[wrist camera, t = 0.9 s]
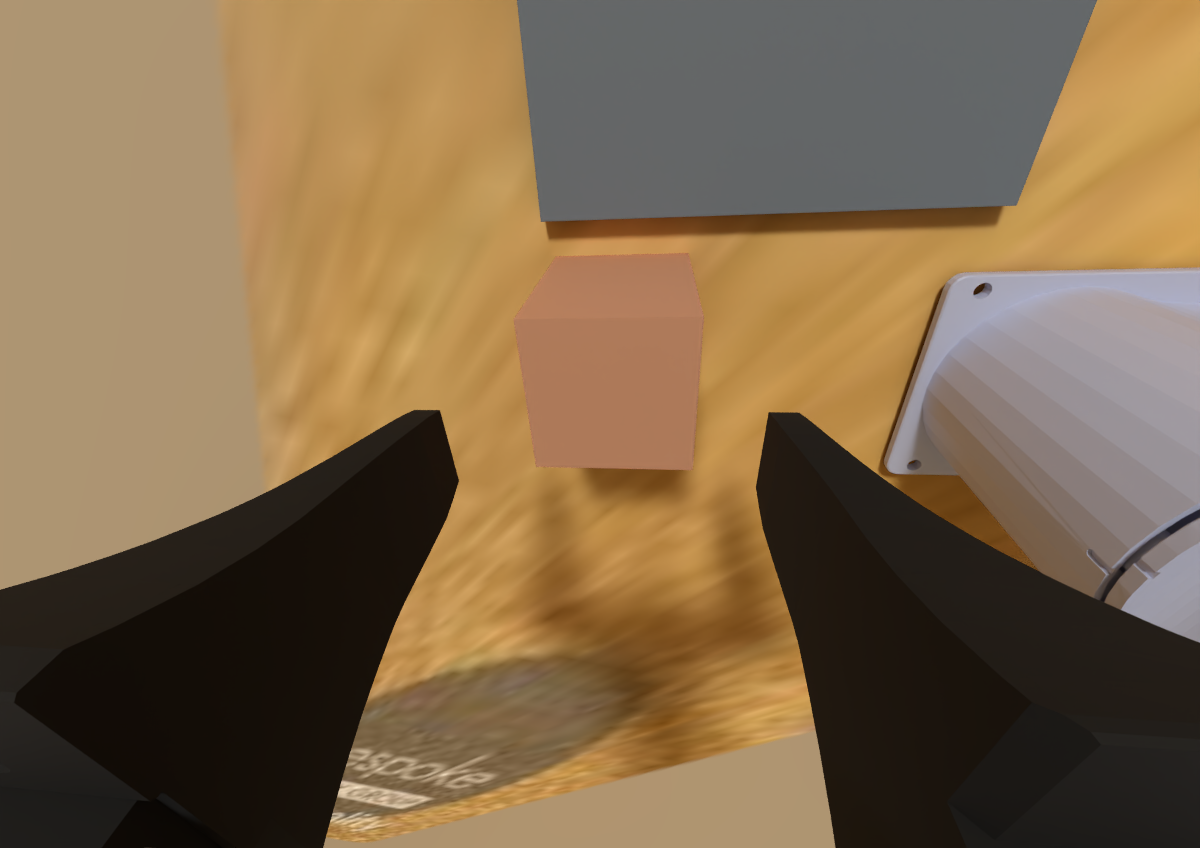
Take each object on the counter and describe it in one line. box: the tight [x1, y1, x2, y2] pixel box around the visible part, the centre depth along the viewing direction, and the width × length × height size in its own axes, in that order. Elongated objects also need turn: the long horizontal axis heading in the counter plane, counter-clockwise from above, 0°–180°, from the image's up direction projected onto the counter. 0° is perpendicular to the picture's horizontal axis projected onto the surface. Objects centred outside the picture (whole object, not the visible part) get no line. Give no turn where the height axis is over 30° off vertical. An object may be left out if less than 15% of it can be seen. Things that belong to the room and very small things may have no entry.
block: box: [514, 253, 704, 470], centre depth 15 cm, size 4×4×6 cm
